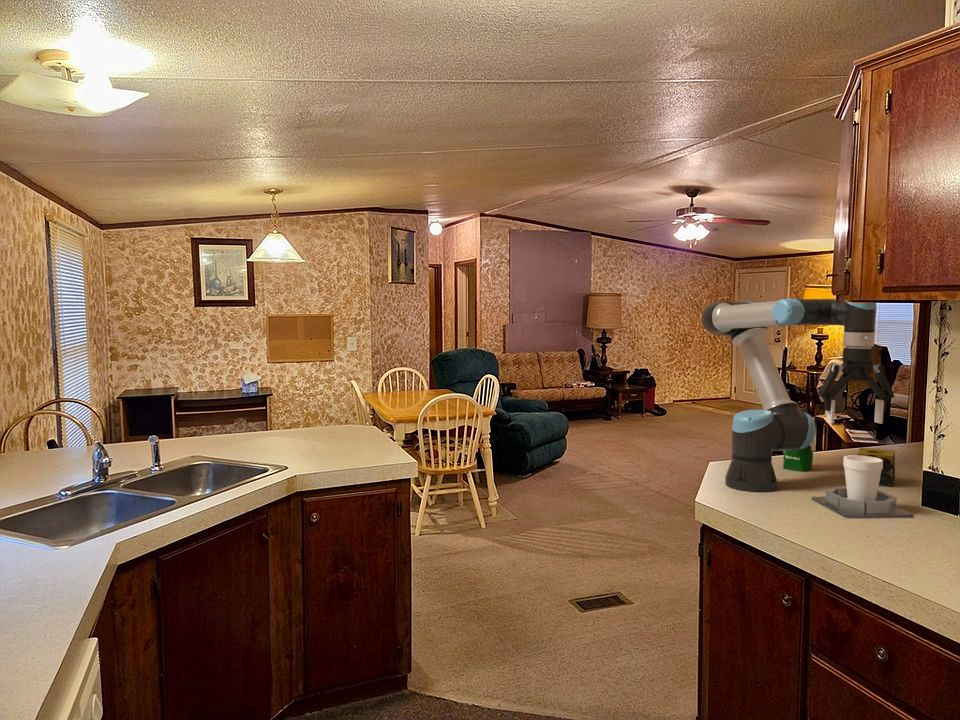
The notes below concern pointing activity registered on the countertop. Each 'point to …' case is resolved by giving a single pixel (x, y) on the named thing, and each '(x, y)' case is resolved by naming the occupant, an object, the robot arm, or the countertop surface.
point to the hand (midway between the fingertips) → (854, 422)
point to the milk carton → (799, 457)
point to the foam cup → (862, 476)
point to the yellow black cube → (888, 464)
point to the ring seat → (861, 505)
